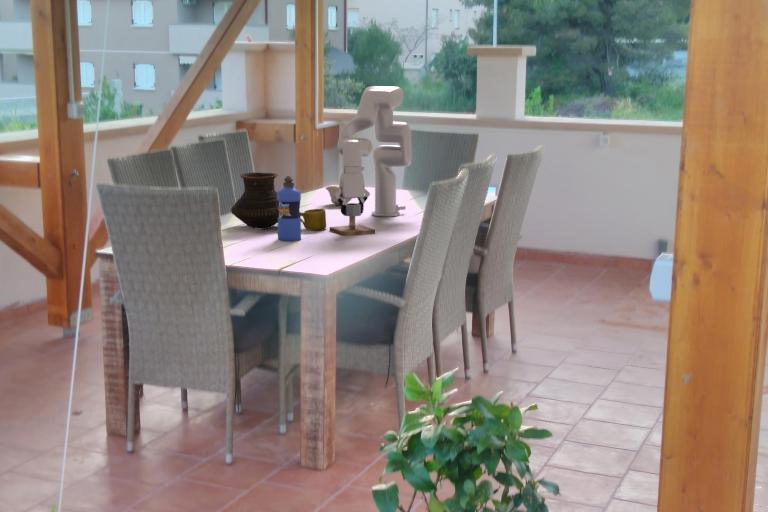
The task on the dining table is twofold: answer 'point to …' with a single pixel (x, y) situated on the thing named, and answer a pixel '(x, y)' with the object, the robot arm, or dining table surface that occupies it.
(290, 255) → the dining table surface
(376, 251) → the dining table surface
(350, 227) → the post block
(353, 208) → the collar
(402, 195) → the dining table surface
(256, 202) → the ceramic pot
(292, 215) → the water bottle
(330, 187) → the bowl
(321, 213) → the mug
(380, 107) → the robot arm
